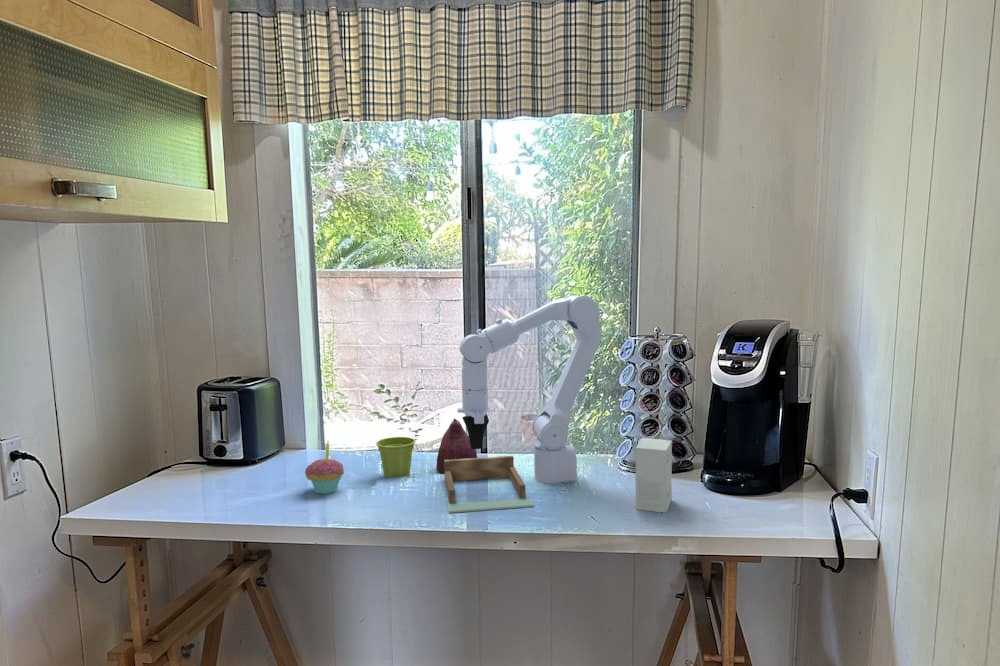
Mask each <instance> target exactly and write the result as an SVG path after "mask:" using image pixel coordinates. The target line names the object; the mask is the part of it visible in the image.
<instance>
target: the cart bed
mask: <svg viewBox="0 0 1000 666" xmlns="http://www.w3.org/2000/svg"><path fill="white" fill-rule="evenodd" d="M514 465H515V464H514V455H502V456H501V455H500V456H487V457H477V458H467V459H451V460H444V471H445V474H444V482H445V488H446V493H447V497H448V501H449V504H456V487H455V484H454V482H455V481H468V480H469V481H470V480H471V481H472V480H483V479H485V480H486V479H499V478H501V479H502V478H509V481H510V482H511V484H512V485H513V487H514V489H515V491H516V494H517V495H518V497H519V499H527V498H526V484H525V482H524V480H523V479H522V477H521V475H520V474H519V471H518V470H517V468H516V467H515V466H514Z"/></svg>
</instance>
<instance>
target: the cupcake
mask: <svg viewBox="0 0 1000 666" xmlns="http://www.w3.org/2000/svg"><path fill="white" fill-rule="evenodd" d="M329 454H330V442H327V443H326V444H325V458H323V459H316V460H315V461H313V462H312V463H310V464H308V466H307V467H306V469H305V470H304V474H305V478H307V480H308V481H311V483H312V486H313V489H314V491H315V493H316V494H319V495H326V494H331V493H335V492H336V491H337V490H338V487H339V483H340V480H341V478H342V476H343V475H344V473H345V469H344V466H343V463H341V462H340V461H338V460H336V459H329V458H330V456H329Z"/></svg>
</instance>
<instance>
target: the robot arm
mask: <svg viewBox="0 0 1000 666" xmlns="http://www.w3.org/2000/svg"><path fill="white" fill-rule="evenodd" d="M600 316H601V311H600V309H599V307H598V305H597V304H596V302H595V300H594V299H593V298H591V297H590V296H587V295H577V294H569V295H566V296H565V297H564V298H557V299H556V300H553V301H550V302H549V303H547V304H544V305H541V307H538V308H536V309H535V310H532V311H531V312H529V313H527V314H525V315H523V316H522V317H520V318H517V319H516V320H511V319H509V318H504V319H502V318H498V319H496V320H495V324H492V325H489V326H487V327H486V328H484V329H482V328H479V329H477V330H476V334H473V333H471V334H468V335H466V336H464V337H463V339H462V340H461V342H460V344H459V345H460V346H459V353H460V354H461V355H462V357H461V359H462V360H461V365H462V367H461V392H462V393H461V395H462V396H461V397H462V400H461V402H462V404H461V405H462V407H457V408H456V410H457V413H459V414H460V413H462V414H465V415H466V416H462V420H463V423H464V424H465V427H466V429H467V435H468V436H469V440H470V445H471V448H472V449H476V450H481V449H482V446H483V442H484V435H485V432H486V431H485V430H486V429H487V426H488V424H489V422H490V419H489V417H488V415H487V414H488V413H489V412H490V407H489V389H488V388H489V387H488V383H489V382H488V367H487V359H488V357H489V354H494V353H497V352H499V351H501V350H503V349H505V348H507V347H509V346H512V345H514V344H515V343H517V342H518V341H519V338H520V335H521V334H523V333H525V332H529V331H530V330H533V329H535V328H538V327H539V326H542V325H544V324H547V323H548V322H551V321H563V322H566V323H567V324H568V325H569V326H570V327H571V329H572V332H573V334H574V336H575V338H576V340H575V342H574V345H573V346H572V350H571V352H570V354H569V357H568V359H567V360H566V363H565V365H564V368H563V370H562V372H561V374H560V377H559V379H558V382H557V384H556V386H555V388H554V391H553V393H552V395H551V398H550V400H549V401H548V402H547V404H545V405H544V407H543V408H542V410H541V412H540V413H539V414H538V415H537V416H536V417H535V418H534V420H533V421H532V425H531V427H532V432H533V434H534V435H535V437H536V439H535V441H534V443H533V451H534V452H533V456H534V460H533V462H534V463H533V465H534V466H533V467H534V468H533V469H534V480H535V481H536V482H538V483H539V482H540V483H542V484H559V483H563V482H564V483H566V482H576V481H578V479H577V478H578V475H577V474H578V473H577V469H578V467H577V460H578V459H577V452H576V448H575V446H574V444H567V440H568V437H569V432H568V430H569V425H570V423H571V410H572V408H573V405H574V403H575V401H576V398H577V397H578V394H579V392H580V389H581V387H582V385H583V383H584V381H585V378H586V376H587V373H588V371H589V368H590V366H591V365H592V362H593V360H594V357H595V355H596V353H597V351H598V348H599V347H600V344H601V341H602V333H601V323H600V321H601V320H600Z"/></svg>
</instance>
